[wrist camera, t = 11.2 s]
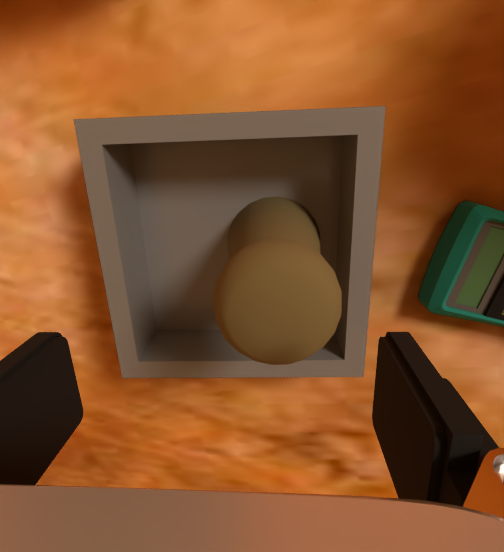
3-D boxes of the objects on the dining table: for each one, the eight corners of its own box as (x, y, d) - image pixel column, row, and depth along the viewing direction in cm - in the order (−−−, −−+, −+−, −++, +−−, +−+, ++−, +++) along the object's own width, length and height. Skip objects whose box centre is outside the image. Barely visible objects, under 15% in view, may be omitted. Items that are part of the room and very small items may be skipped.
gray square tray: (346, 336, 27) (363, 377, 22) (147, 338, 28) (122, 378, 23) (360, 114, 22) (385, 105, 17) (114, 124, 22) (73, 119, 18)
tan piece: (311, 186, 22) (349, 222, 12) (327, 276, 24) (372, 375, 14) (216, 208, 23) (174, 261, 13) (240, 294, 25) (219, 401, 15)
